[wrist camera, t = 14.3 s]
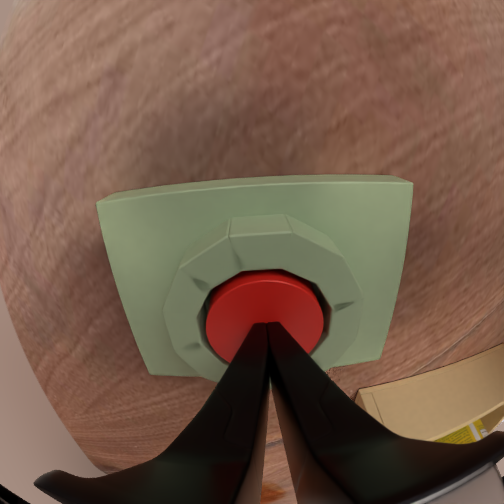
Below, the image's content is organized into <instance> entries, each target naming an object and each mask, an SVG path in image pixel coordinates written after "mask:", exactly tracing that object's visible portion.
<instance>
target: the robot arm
mask: <svg viewBox="0 0 504 504" xmlns="http://www.w3.org/2000/svg"><path fill="white" fill-rule="evenodd" d="M270 383H271V389H272V393H273V398H274V402H275V407H276V411H277V416H278V420H279V425H280V429H281V434H282V438H283V442H284V447H285V451H286V455H287V460H288V464H289V468H290V473H291V477H292V481H293V485H294V490H295V493H296V498H297V503H298V504H504V476H503V477H501V475H500V472H499V470H498V468H497V466H496V463H497V462H498V461H499V460H501V459H502V458H503V457H504V432H502V431H495V432H493V433H491V434H489V435H487V436H486V437H484V438H482V439H481V440H478V441H476V442H472V443H467V444H453V443H442V442H433V441H426V440H418V439H412V438H406V437H403V436H400V435H398V434H396V433H394V432H392V431H391V430H389V429H388V428H386V427H385V426H384V425H383V424H381V423H380V422H379V421H377V420H376V419H375V418H374V417H372V416H371V415H370V414H368V413H367V412H366V411H365V410H363V409H362V408H361V407H360V406H358V405H357V404H356V403H355V402H354V401H353V400H351V399H350V398H349V397H348V396H347V395H346V394H345V393H344V392H343V391H342V390H341V389H340V388H339V387H338V386H337V385H336V384H335V383H334V381H332V380H331V378H330V377H329V376H328V375H327V374H326V373H325V372H324V371H323V370H322V369H321V368H320V366H319V365H318V364H317V363H316V362H315V361H314V360H313V359H312V358H311V357H310V355H309V354H308V353H307V352H306V351H305V350H304V349H303V348H302V347H301V346H300V344H299V343H298V342H297V341H296V340H295V339H294V338H293V337H292V336H291V334H290V333H289V332H288V331H287V330H286V329H285V328H284V327H283V325H282V324H281V323H280V322H278V321H275V322H267V325H266V323H265V322H261V323H254V324H253V325H252V327H251V329H250V330H249V332H248V334H247V336H246V337H245V339H244V341H243V342H242V344H241V346H240V347H239V349H238V351H237V352H236V354H235V356H234V357H233V359H232V361H231V362H230V364H229V366H228V367H227V369H226V371H225V372H224V374H223V376H222V377H221V379H220V381H219V382H218V384H217V385H216V387H215V389H214V390H213V392H212V393H211V395H210V397H209V398H208V400H207V401H206V403H205V404H204V405H203V407H202V408H201V410H200V411H199V412H198V413H197V415H196V416H195V417H194V418H193V420H192V421H191V422H190V423H189V424H188V425H187V427H186V428H185V429H184V430H183V431H182V432H181V433H180V434H179V435H178V437H177V438H176V439H175V440H174V441H173V442H172V443H171V444H170V445H169V446H168V448H167V449H166V450H165V451H163V452H162V453H161V454H160V455H158V456H157V457H155V458H153V459H152V460H149V461H147V462H144V463H141V464H139V465H136V466H133V467H130V468H127V469H125V470H122V471H119V472H115V473H112V474H109V475H106V476H102V477H97V478H82V477H78V476H74V475H72V474H69V473H67V472H64V471H61V470H53V471H51V472H48V473H46V474H43V475H42V476H40V477H39V478H38V479H36V481H35V482H34V485H35V486H36V487H37V488H38V489H40V490H41V491H43V492H44V493H46V494H47V495H49V496H51V497H52V498H54V499H56V500H57V501H59V502H61V503H62V504H260V496H261V488H262V478H263V467H264V456H265V445H266V433H267V421H268V408H269V394H270ZM0 504H30V503H28V502H27V501H25V500H23V499H22V498H20V497H19V496H17V495H16V494H14V493H12V492H11V491H9V490H8V489H7V488H5V487H4V486H2V485H1V484H0Z"/></svg>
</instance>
